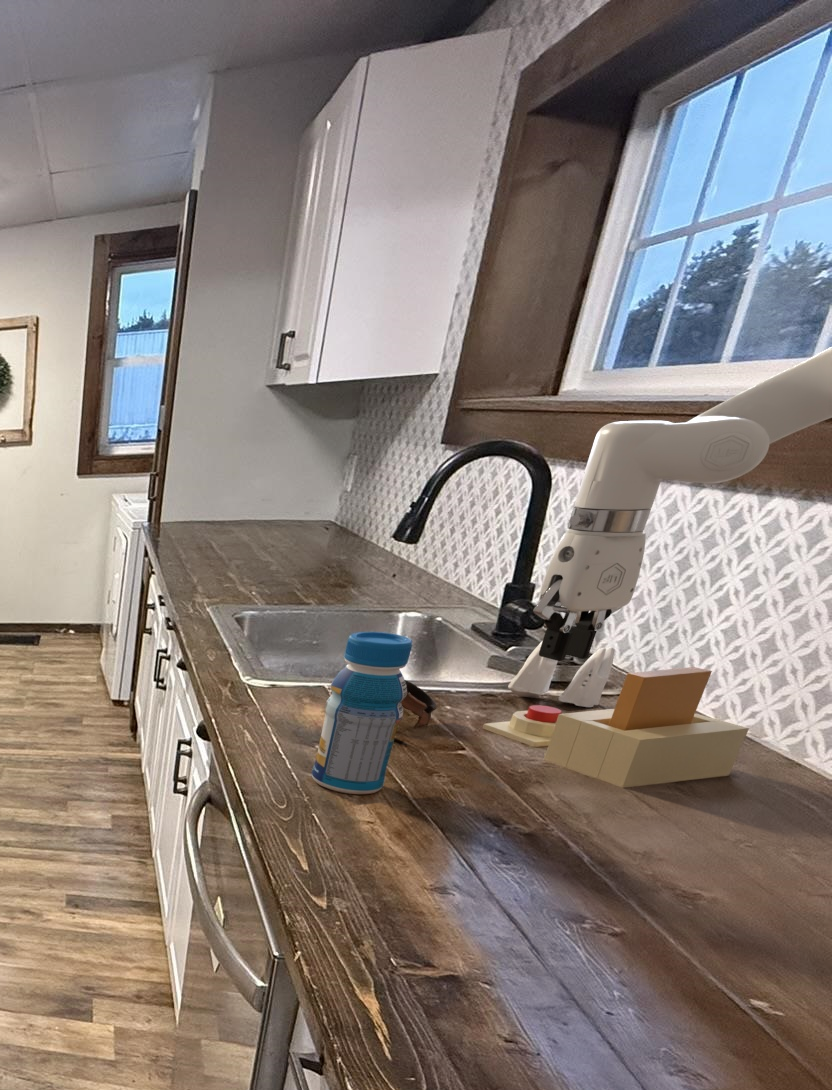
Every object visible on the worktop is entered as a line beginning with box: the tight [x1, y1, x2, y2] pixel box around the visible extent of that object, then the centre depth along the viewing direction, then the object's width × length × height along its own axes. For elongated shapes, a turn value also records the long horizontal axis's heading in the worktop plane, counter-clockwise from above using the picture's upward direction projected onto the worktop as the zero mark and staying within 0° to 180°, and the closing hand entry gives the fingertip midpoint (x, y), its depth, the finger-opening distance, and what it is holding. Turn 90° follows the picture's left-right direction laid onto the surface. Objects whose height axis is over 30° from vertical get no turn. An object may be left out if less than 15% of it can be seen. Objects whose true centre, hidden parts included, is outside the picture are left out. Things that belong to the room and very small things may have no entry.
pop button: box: [526, 704, 563, 723], centre depth 119 cm, size 4×4×2 cm
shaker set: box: [507, 640, 616, 708], centre depth 135 cm, size 12×4×11 cm, turn 52°
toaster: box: [543, 708, 750, 788], centre depth 107 cm, size 16×10×8 cm, turn 99°
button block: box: [482, 710, 556, 748], centre depth 120 cm, size 10×8×4 cm
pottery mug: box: [401, 679, 438, 728], centre depth 128 cm, size 12×10×8 cm
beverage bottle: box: [311, 631, 413, 795], centre depth 106 cm, size 8×8×20 cm
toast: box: [609, 666, 713, 731], centre depth 106 cm, size 10×2×13 cm, turn 99°
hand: (562, 656), depth 115 cm, fingers open, 3 cm apart
